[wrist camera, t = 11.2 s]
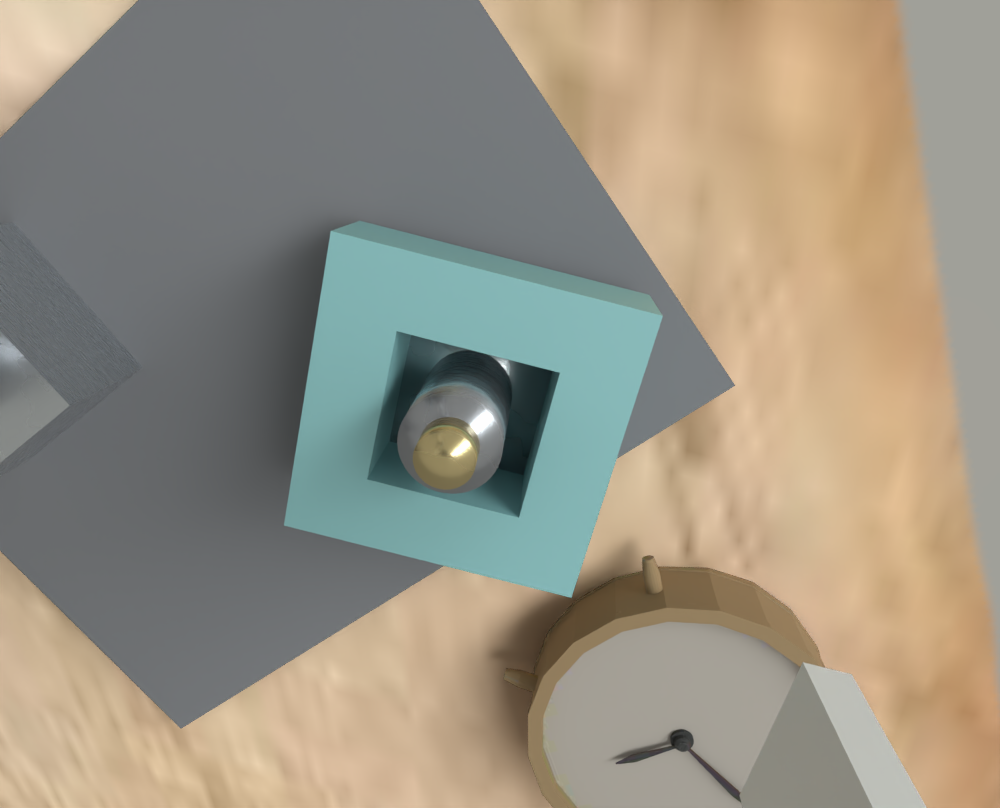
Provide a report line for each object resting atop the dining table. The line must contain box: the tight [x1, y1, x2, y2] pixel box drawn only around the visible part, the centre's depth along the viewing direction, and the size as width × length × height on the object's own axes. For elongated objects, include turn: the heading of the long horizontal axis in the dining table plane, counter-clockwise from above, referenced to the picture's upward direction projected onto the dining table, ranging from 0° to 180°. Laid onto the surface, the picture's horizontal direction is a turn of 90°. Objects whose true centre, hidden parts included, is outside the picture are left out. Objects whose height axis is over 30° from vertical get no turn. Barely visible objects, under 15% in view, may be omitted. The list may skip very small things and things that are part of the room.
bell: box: [389, 335, 552, 494], centre depth 21 cm, size 8×8×6 cm
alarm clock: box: [503, 556, 825, 808], centre depth 28 cm, size 11×5×15 cm
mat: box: [0, 0, 735, 728], centre depth 25 cm, size 20×26×1 cm
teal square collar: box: [284, 221, 663, 598], centre depth 22 cm, size 9×9×3 cm
